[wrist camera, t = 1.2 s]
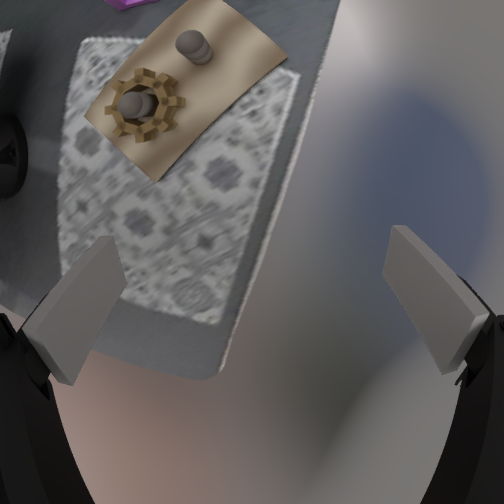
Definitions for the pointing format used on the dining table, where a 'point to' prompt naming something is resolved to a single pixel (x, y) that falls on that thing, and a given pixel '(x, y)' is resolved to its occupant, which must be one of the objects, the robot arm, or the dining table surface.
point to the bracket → (127, 3)
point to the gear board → (181, 83)
